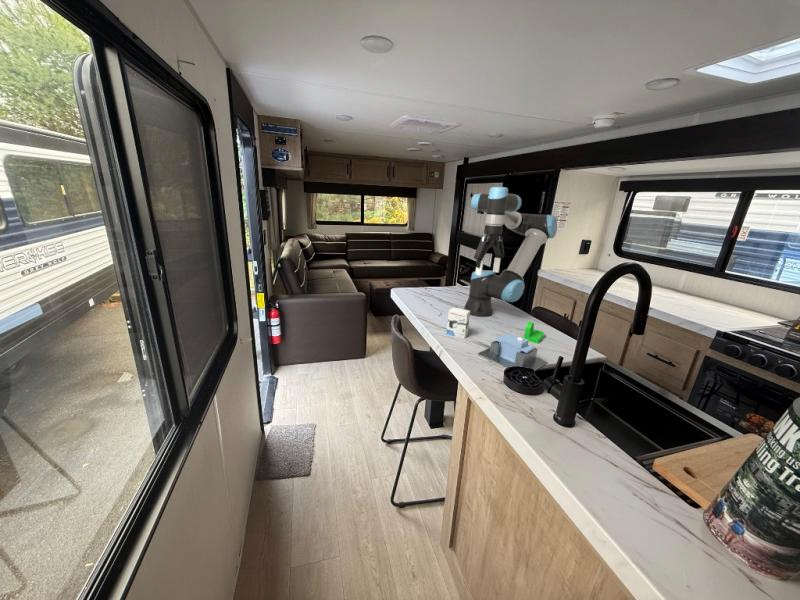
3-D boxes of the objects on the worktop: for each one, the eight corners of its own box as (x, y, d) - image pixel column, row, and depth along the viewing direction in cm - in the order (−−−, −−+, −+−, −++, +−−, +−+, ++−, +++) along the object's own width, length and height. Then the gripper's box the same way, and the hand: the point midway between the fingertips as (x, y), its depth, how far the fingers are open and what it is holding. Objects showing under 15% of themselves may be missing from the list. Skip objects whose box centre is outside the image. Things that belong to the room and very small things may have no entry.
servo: (500, 349, 124) (503, 329, 121) (531, 362, 114) (535, 340, 112) (493, 352, 120) (496, 332, 118) (524, 366, 111) (528, 344, 109)
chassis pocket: (500, 344, 130) (502, 332, 128) (547, 363, 115) (550, 349, 114) (477, 354, 120) (479, 341, 118) (526, 376, 105) (528, 361, 104)
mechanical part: (537, 344, 132) (540, 327, 130) (523, 340, 136) (526, 323, 134) (545, 336, 142) (548, 320, 139) (531, 332, 145) (534, 316, 143)
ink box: (445, 334, 137) (448, 309, 133) (449, 331, 141) (451, 307, 137) (464, 339, 133) (467, 313, 130) (467, 335, 137) (470, 310, 134)
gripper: (502, 224, 143) (495, 269, 149) (469, 224, 127) (463, 274, 133) (516, 225, 138) (509, 272, 144) (484, 225, 122) (477, 277, 128)
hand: (487, 273), depth 139 cm, fingers open, 13 cm apart
